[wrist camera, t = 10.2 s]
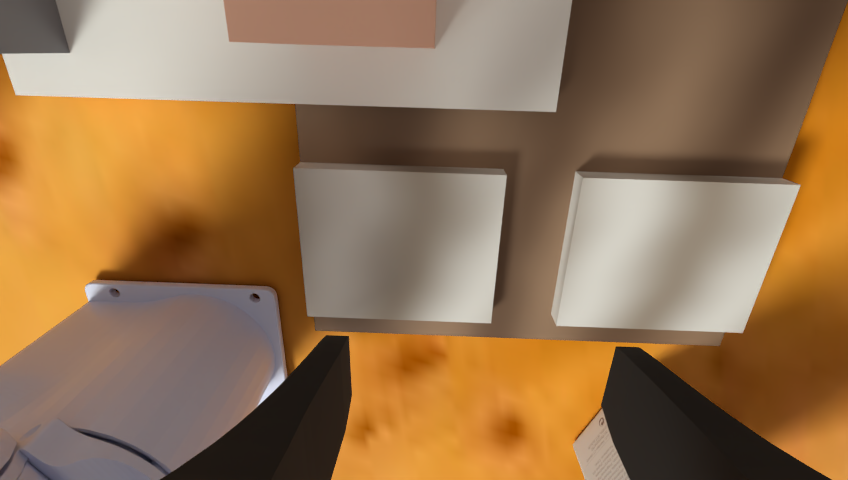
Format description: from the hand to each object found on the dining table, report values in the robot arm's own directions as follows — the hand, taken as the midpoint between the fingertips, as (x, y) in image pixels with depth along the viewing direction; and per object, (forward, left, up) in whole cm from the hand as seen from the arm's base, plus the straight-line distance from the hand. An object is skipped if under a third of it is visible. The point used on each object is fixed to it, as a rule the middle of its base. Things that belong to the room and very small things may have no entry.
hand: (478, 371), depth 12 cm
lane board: (+3, +6, -9) cm, 11 cm away
